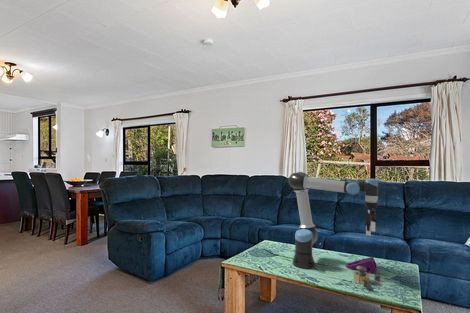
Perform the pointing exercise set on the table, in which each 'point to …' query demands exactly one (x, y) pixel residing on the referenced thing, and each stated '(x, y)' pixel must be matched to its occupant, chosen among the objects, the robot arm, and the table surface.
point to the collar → (361, 278)
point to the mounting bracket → (364, 265)
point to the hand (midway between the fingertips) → (370, 233)
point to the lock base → (362, 273)
